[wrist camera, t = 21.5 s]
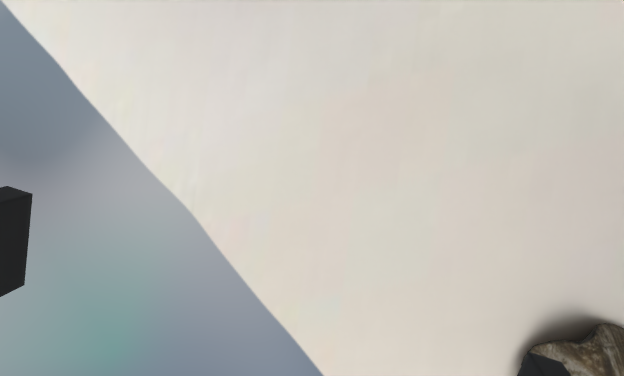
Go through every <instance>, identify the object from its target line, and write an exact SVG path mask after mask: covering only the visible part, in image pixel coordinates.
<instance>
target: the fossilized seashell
mask: <svg viewBox="0 0 624 376" xmlns="http://www.w3.org/2000/svg"><path fill="white" fill-rule="evenodd" d="M529 352H532V353H535V354H538V355H541V356H544V357H547V358H551V359H554V360H557V361H560V362H562V363H563V365H564V366H565V368H566V369H567V370H568V372H569V373H570V375H571V376H624V328H621V327H619V326H616V325H612V324H607V323H604V324H599V325H597V326H596V327H595V328H594V329H593V331H591V332H590V334H589V335H588V336H587V337H586V338H585V339H584V340H583V341H581V342H580V341H565V340H556V341H549V342H547V343H543V344H538V345H535V346H533V347H532V349H531V350H530V351H529ZM525 357H526V356H525ZM525 357H524V359H525ZM524 359H523V362H524ZM523 362H522V364H523ZM522 364H521V366H522Z"/></svg>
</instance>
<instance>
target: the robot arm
mask: <svg viewBox="0 0 624 376" xmlns="http://www.w3.org/2000/svg"><path fill="white" fill-rule="evenodd" d="M31 204H32V194H31V193H28V192H24V191H21V190H18V189H15V188H12V187H9V186H6V187H2V188H0V297H1V296H3V295H5V294H7V293H9V292H11V291H13V290H15V289H17V288H19V287H21V286H23V285H24V281H25V270H26V258H27V249H28V248H27V247H28V238H29V227H30V215H31ZM517 376H571V375H570V373H569V372H568V370H567V369H566V368H565V366H564V365H563V363H562V362H560V361H557V360H554V359H551V358H547V357H544V356H541V355H538V354H535V353H532V352H529V351H528V353H527V355H526V357H525V359H524V362H523V364H522V366H521V368H520V371H519V373H518V375H517Z"/></svg>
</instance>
